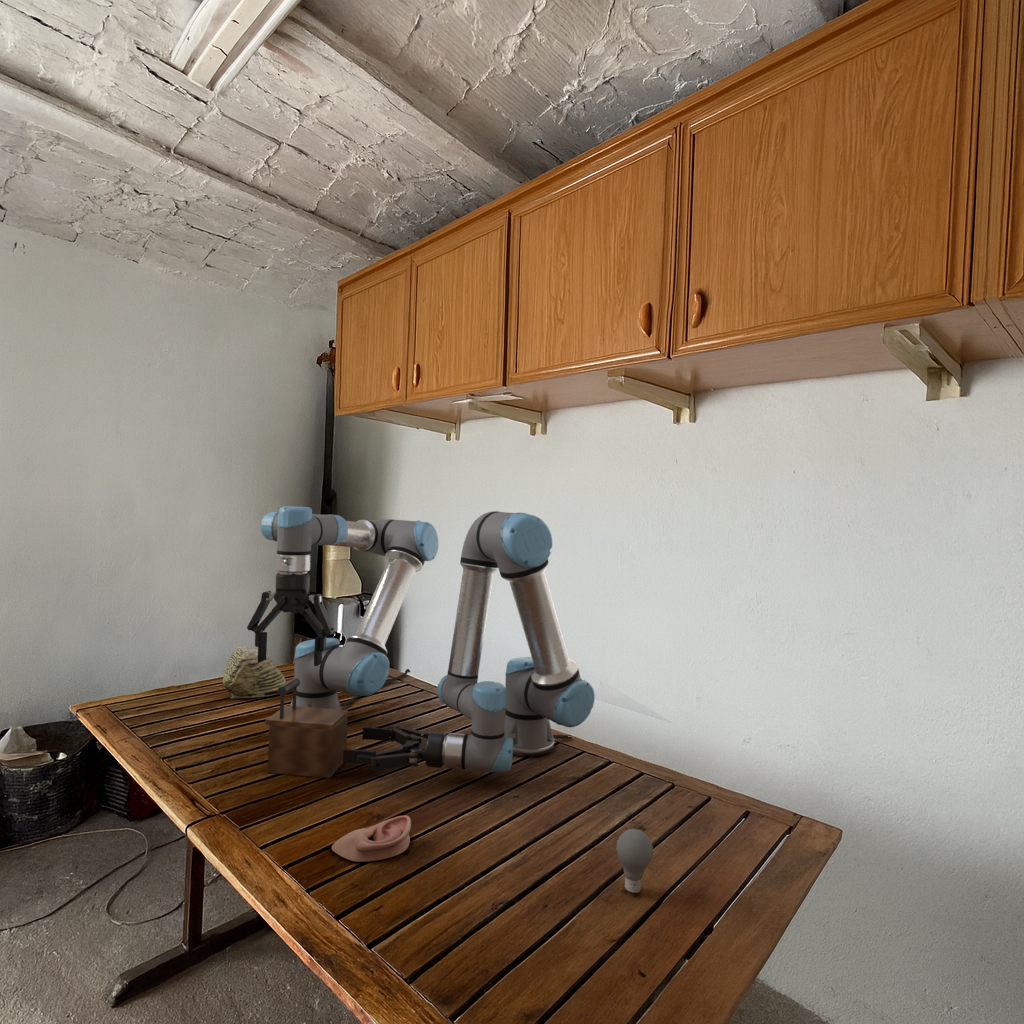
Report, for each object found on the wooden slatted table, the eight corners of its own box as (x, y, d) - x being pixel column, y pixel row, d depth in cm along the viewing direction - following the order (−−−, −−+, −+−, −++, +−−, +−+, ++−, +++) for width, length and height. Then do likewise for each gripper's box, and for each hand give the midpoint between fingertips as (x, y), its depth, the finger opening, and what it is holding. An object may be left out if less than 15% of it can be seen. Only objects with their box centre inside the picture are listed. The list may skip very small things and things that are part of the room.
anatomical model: (323, 834, 111) (353, 804, 123) (323, 856, 111) (352, 824, 123) (394, 845, 109) (418, 814, 120) (393, 868, 109) (417, 834, 120)
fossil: (218, 695, 195) (220, 647, 195) (278, 685, 208) (279, 640, 207) (228, 703, 189) (230, 653, 188) (289, 692, 201) (290, 645, 201)
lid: (265, 724, 144) (266, 687, 144) (285, 710, 154) (286, 675, 154) (331, 729, 142) (333, 692, 142) (347, 714, 153) (349, 679, 152)
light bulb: (610, 879, 108) (613, 822, 108) (644, 879, 109) (647, 822, 109) (619, 902, 102) (622, 840, 102) (655, 901, 103) (658, 840, 103)
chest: (267, 772, 144) (269, 725, 144) (287, 755, 154) (289, 710, 154) (330, 778, 143) (331, 730, 142) (346, 759, 153) (347, 715, 153)
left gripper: (233, 571, 145) (230, 663, 146) (338, 577, 143) (335, 670, 143) (250, 567, 153) (247, 655, 153) (350, 573, 151) (347, 662, 151)
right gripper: (433, 791, 132) (333, 783, 133) (453, 745, 156) (369, 739, 158) (434, 756, 131) (335, 748, 133) (454, 715, 156) (370, 709, 158)
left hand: (289, 662), depth 148 cm, fingers open, 13 cm apart
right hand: (353, 743), depth 146 cm, fingers open, 13 cm apart
